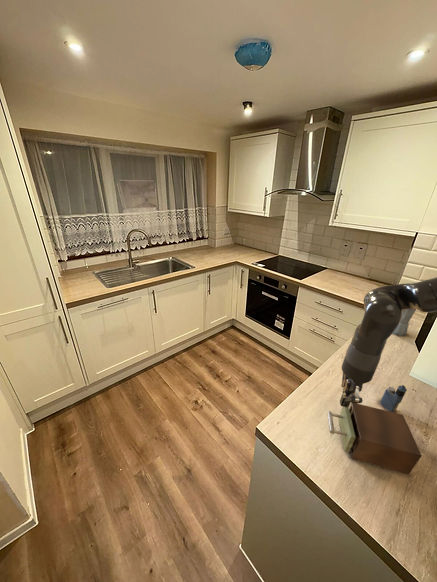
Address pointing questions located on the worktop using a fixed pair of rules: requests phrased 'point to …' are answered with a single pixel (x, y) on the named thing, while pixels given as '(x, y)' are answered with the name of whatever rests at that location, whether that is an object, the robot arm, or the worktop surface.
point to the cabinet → (384, 439)
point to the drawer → (345, 428)
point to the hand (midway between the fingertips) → (343, 404)
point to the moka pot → (404, 322)
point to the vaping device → (393, 398)
